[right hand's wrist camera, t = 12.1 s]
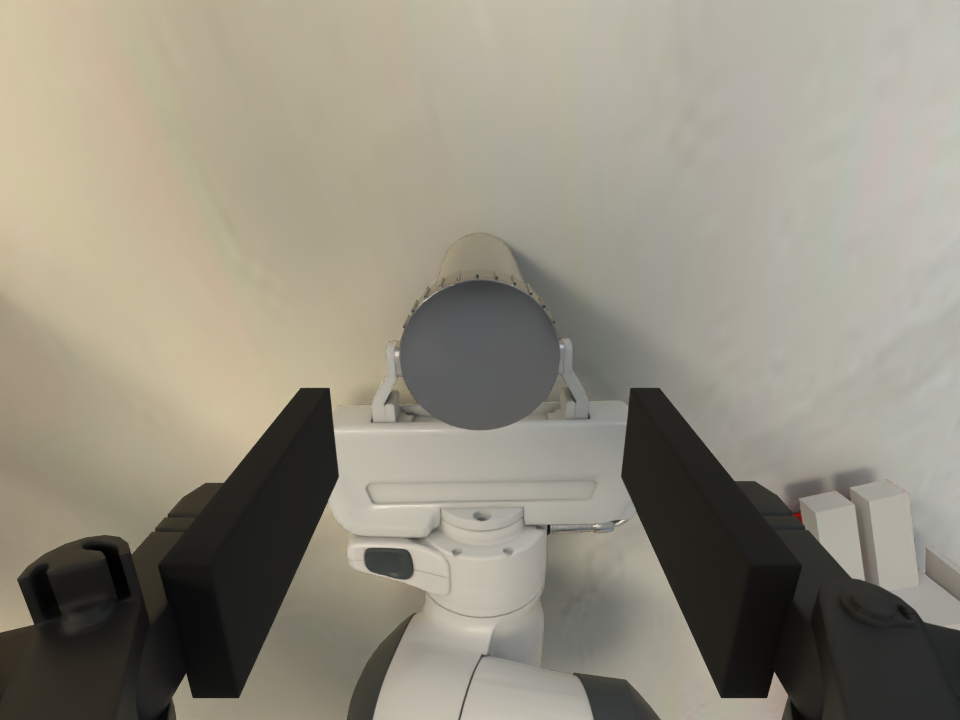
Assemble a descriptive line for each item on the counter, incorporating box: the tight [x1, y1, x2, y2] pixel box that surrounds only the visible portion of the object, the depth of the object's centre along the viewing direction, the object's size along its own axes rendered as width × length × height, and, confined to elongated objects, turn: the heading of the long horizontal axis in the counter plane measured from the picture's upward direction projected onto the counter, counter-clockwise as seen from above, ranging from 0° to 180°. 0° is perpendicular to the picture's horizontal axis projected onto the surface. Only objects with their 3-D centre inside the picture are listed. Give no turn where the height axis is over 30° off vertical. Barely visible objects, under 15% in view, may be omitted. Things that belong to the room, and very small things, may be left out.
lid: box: [399, 267, 561, 430], centre depth 21 cm, size 6×6×2 cm
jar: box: [436, 233, 525, 284], centre depth 28 cm, size 5×5×17 cm
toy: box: [793, 479, 960, 630], centre depth 42 cm, size 12×13×30 cm
